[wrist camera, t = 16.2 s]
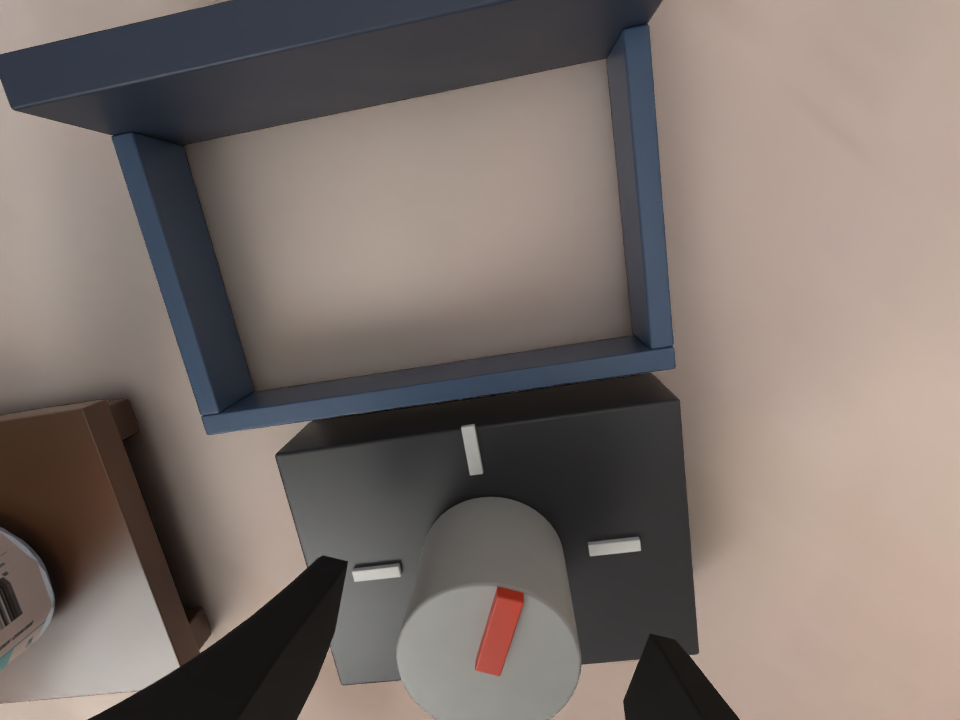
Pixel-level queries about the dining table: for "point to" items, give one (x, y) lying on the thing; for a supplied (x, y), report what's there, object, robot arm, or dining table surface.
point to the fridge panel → (513, 475)
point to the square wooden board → (90, 557)
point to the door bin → (329, 90)
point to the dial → (490, 617)
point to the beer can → (22, 597)
